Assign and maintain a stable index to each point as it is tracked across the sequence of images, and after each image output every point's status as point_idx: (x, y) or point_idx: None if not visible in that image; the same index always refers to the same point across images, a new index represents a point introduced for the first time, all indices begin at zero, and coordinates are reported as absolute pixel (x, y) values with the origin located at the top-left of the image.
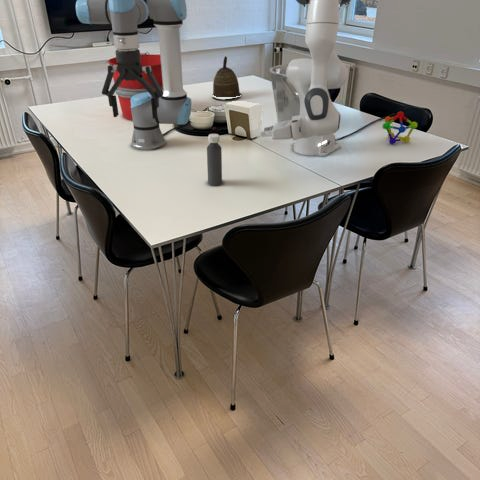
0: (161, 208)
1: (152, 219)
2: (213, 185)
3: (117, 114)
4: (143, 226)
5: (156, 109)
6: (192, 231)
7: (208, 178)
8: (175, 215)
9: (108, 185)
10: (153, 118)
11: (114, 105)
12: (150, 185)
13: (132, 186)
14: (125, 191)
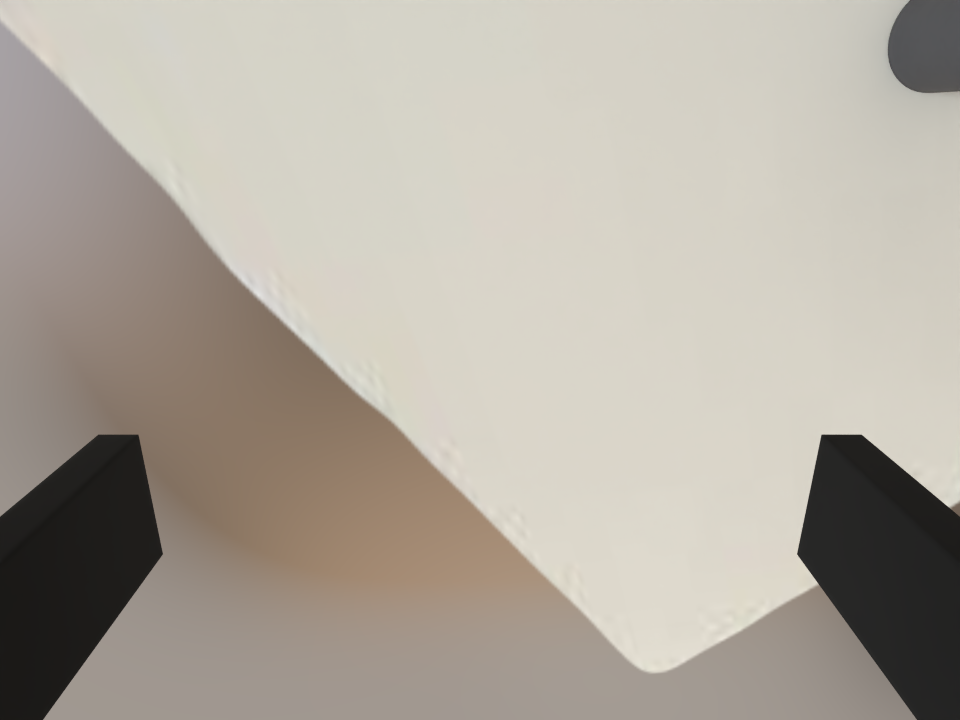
0: (627, 422)
1: (606, 524)
2: (926, 91)
3: (138, 490)
4: (580, 580)
5: (943, 513)
6: (800, 592)
7: (919, 65)
8: (710, 479)
9: (215, 178)
10: (809, 557)
11: (40, 699)
12: (490, 140)
13: (377, 173)
14: (362, 251)
